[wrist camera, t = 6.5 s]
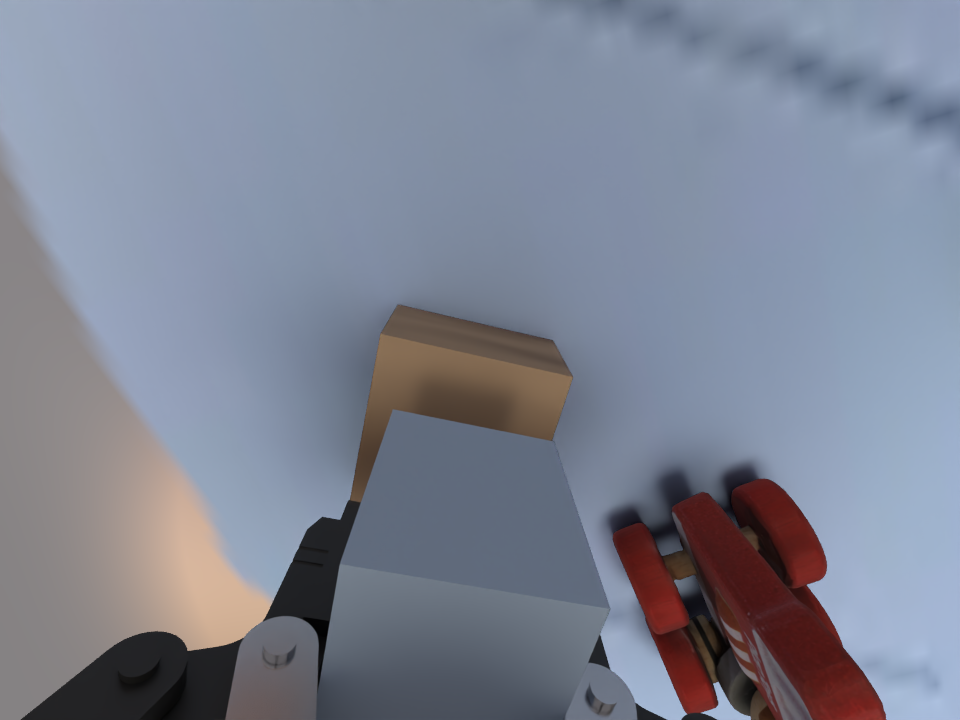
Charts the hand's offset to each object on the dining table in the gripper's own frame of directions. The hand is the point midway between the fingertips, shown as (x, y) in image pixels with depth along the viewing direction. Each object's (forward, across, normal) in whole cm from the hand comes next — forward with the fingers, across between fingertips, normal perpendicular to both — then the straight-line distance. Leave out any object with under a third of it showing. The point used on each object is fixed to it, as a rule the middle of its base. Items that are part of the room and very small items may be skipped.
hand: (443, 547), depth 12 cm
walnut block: (+8, 0, 0) cm, 8 cm away
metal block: (0, 0, 0) cm, 0 cm away
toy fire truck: (+8, -13, +5) cm, 16 cm away
